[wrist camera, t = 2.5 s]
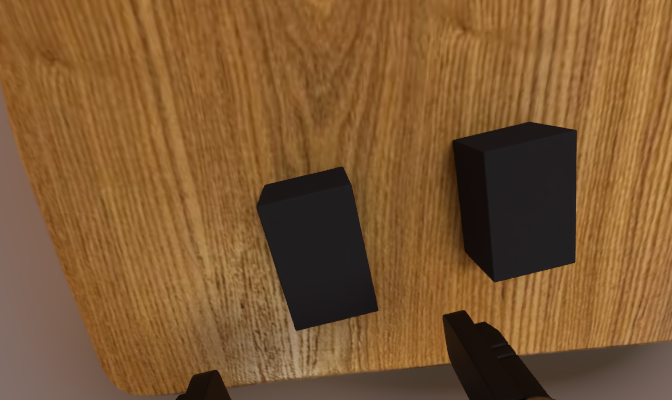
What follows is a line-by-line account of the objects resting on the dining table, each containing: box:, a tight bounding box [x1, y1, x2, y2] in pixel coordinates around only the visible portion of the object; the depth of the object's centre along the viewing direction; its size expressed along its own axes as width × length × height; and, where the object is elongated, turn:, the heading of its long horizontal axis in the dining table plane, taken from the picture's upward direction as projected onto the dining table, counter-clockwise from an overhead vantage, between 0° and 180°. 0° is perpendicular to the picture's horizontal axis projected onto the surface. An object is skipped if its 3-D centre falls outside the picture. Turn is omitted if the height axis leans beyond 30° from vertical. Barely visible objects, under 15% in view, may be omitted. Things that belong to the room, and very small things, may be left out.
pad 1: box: [257, 167, 378, 331], centre depth 21 cm, size 5×8×4 cm, turn 12°
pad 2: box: [453, 122, 577, 282], centre depth 21 cm, size 5×8×4 cm, turn 13°
